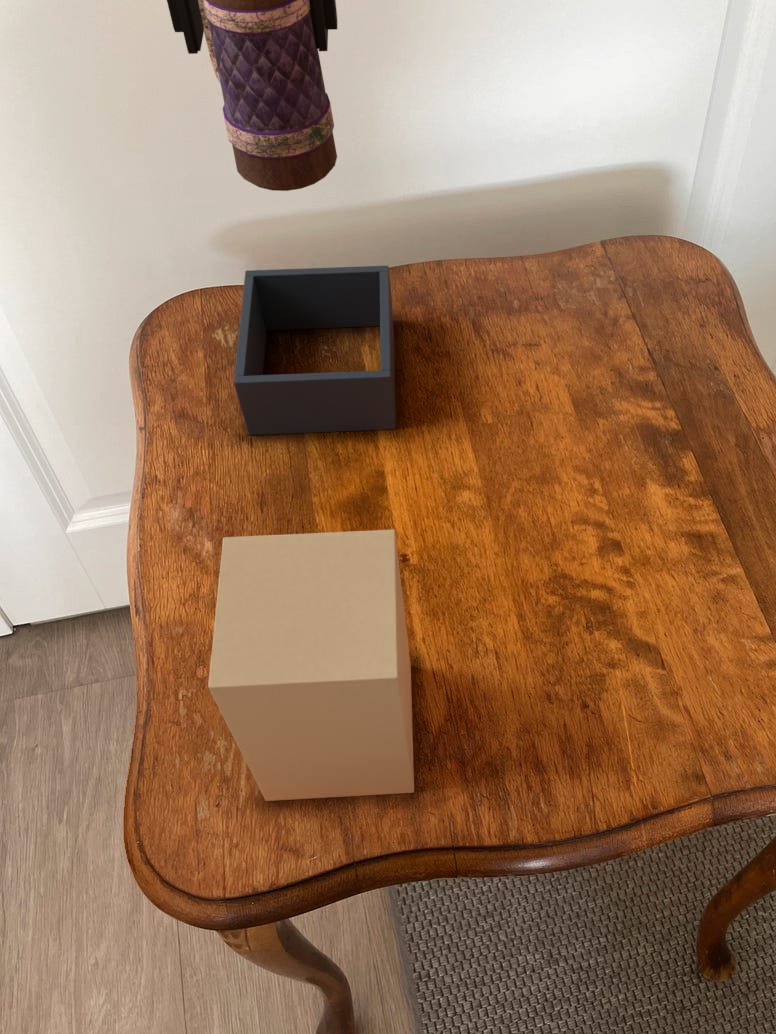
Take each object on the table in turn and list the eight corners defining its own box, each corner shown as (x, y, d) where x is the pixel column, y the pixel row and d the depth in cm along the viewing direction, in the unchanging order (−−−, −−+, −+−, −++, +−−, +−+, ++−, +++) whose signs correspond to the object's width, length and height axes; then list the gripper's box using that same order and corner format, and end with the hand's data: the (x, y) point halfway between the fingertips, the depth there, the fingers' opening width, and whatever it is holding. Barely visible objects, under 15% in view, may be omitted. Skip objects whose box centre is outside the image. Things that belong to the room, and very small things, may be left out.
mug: (359, 168, 64) (334, -33, 54) (271, 207, 62) (228, 5, 52) (279, 107, 69) (242, -89, 58) (194, 141, 66) (140, -56, 56)
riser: (265, 801, 63) (207, 687, 49) (273, 672, 68) (222, 536, 54) (414, 793, 63) (397, 677, 50) (410, 665, 68) (395, 528, 55)
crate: (248, 435, 80) (233, 382, 75) (258, 325, 87) (245, 270, 82) (395, 429, 81) (390, 376, 76) (393, 320, 88) (388, 265, 83)
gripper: (375, -383, 46) (396, 10, 61) (16, -384, 46) (127, 15, 61) (376, -338, 42) (399, 70, 58) (-16, -339, 42) (111, 76, 57)
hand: (259, 39), depth 59 cm, fingers closed on mug, 7 cm apart
